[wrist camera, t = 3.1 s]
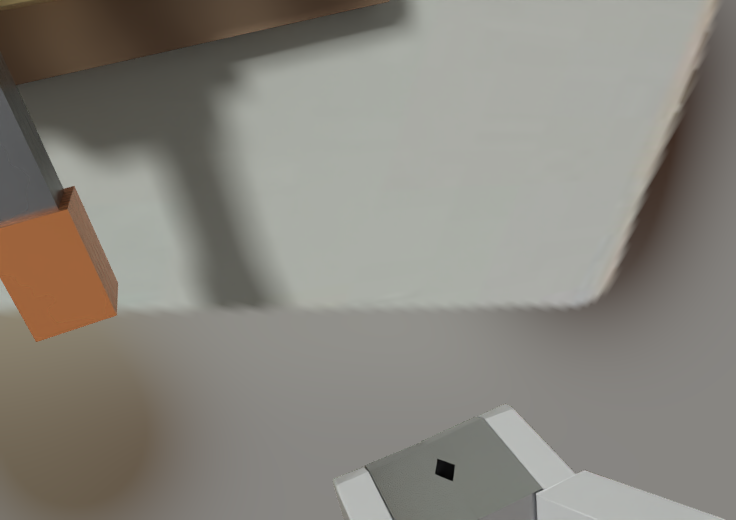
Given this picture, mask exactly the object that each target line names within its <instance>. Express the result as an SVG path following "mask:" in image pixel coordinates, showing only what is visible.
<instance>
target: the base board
mask: <svg viewBox="0 0 736 520" xmlns="http://www.w3.org/2000/svg"><path fill="white" fill-rule="evenodd" d="M385 2H389V0H56V1H51V2H45V3H40V4H35V5H30V6H25V7H20V8H14V9H9V10H4V11H0V52H1V54H2V56H3V58H4V61H5V63H6V65H7V67H8V69H9V71H10V74H11V76H12V78H13V80H14V82H15V85H19V84H23V83H28V82H32V81H37V80H41V79H45V78H50V77H54V76H59V75H63V74H68V73H72V72H77V71H81V70H86V69H90V68H95V67H99V66H103V65H108V64H112V63H117V62H121V61H126V60H130V59H135V58H139V57H144V56H148V55H153V54H157V53H162V52H166V51H170V50H175V49H179V48H184V47H188V46H193V45H197V44H202V43H206V42H211V41H215V40H220V39H224V38H229V37H233V36H237V35H242V34H246V33H251V32H255V31H260V30H264V29H269V28H273V27H278V26H282V25H287V24H291V23H296V22H300V21H304V20H309V19H313V18H318V17H322V16H327V15H331V14H336V13H340V12H345V11H349V10H354V9H358V8H362V7H367V6H371V5H376V4H380V3H385Z"/></svg>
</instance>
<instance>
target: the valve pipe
mask: <svg viewBox="0 0 736 520" xmlns="http://www.w3.org/2000/svg"><path fill="white" fill-rule="evenodd" d="M51 1H56V0H0V11H4V10H9V9H14V8H20V7H25V6H30V5H35V4H40V3H45V2H51Z"/></svg>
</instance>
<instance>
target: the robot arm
mask: <svg viewBox="0 0 736 520" xmlns="http://www.w3.org/2000/svg"><path fill="white" fill-rule="evenodd" d="M333 485H334V488H335V492H336V495H337V499H338V502H339V506H340V509H341V512H342V516H343V519H344V520H725V519H722V518H720V517H717V516H714V515H711V514H708V513H705V512H703V511H699V510H697V509H694V508H691V507H688V506H686V505H682V504H680V503H677V502H674V501H671V500H668V499H665V498H663V497H660V496H657V495H654V494H651V493H649V492H646V491H643V490H640V489H637V488H635V487H632V486H629V485H626V484H623V483H620V482H618V481H615V480H612V479H609V478H606V477H604V476H601V475H598V474H595V473H592V472H589V471H587V470H583V471H581V472H579V473H575V472H574V471H573V470H572V469H571V468H570V467H569V466H568V465H567V464H566V462H565V461H564V460H563V459H562V458H561V457H560V456H559V455H558V454H557V453H556V452H555V451H554V450H553V449H552V448H551V447H550V446H549V445H548V444H547V443H546V442H545V441H544V440H543V439H542V438H541V436H540V435H539V434H538V433H537V432H536V431H535V430H534V429H533V428H532V427H531V426H530V425H529V424H528V423H527V422H526V421H525V420H524V419H523V418H522V417H521V416H520V415H519V414H518V413H517V412H516V411H515V409H513V407H512V406H509V405H507V404H504V405H502V406H499V407H497V408H495V409H492V410H490V411H488V412H486V413H483V414H481V415H479V416H478V417H473V418H471V419H469V420H467V421H465V422H462V423H460V424H458V425H456V426H454V427H452V428H449V429H447V430H445V431H443V432H441V433H438V434H436V435H434V436H432V437H430V438H427V439H425V440H423V441H422V442H421V443H418V444H416V445H413V446H411V447H408V448H406V449H404V450H401V451H399V452H396V453H394V454H392V455H389V456H386V457H384V458H382V459H379V460H377V461H374V462H372V463H369V464H367V465H365V467H361V468H359V469H356V470H354V471H351V472H349V473H346V474H344V475H342V476H339V477H337V478H334V479H333Z"/></svg>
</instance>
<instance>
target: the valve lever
mask: <svg viewBox="0 0 736 520" xmlns="http://www.w3.org/2000/svg"><path fill="white" fill-rule="evenodd" d="M0 278H1V280H2V282H3V284H4V285H5V287H6V289H7V291H8V293H9V294H10V296H11V298H12V300H13V301H14V303H15V305H16V307H17V309H18V310H19V312H20V314H21V316H22V318H23V319H24V321H25V323H26V325H27V326H28V328H29V330H30V332H31V334H32V335H33V337H34V339H35V341H36V342H38V341H41V340H44V339H47V338H50V337H53V336H56V335H59V334H61V333H65V332H68V331H71V330H74V329H77V328H80V327H83V326H86V325H89V324H92V323H95V322H98V321H101V320H104V319H107V318H110V317H113V316H116V315H117V297H118V282H117V280H116V278H115V275H114V273H113V271H112V269H111V267H110V264H109V262H108V260H107V258H106V255H105V253H104V251H103V249H102V247H101V244H100V242H99V240H98V238H97V235H96V233H95V231H94V229H93V226H92V224H91V222H90V220H89V218H88V215H87V213H86V211H85V209H84V206H83V204H82V202H81V200H80V198H79V195H78V193H77V191H76V189H75V186H72V187H69V188H65V189H63V187H62V184H61V182H60V180H59V178H58V176H57V174H56V171H55V169H54V167H53V165H52V163H51V161H50V158H49V156H48V154H47V152H46V150H45V148H44V145H43V143H42V141H41V139H40V137H39V134H38V132H37V130H36V128H35V126H34V124H33V121H32V119H31V117H30V115H29V113H28V111H27V108H26V106H25V104H24V102H23V100H22V98H21V95H20V93H19V91H18V89H17V87H16V85H15V82H14V80H13V78H12V76H11V74H10V71H9V69H8V67H7V65H6V63H5V61H4V58H3V56H2V54H1V52H0Z"/></svg>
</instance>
